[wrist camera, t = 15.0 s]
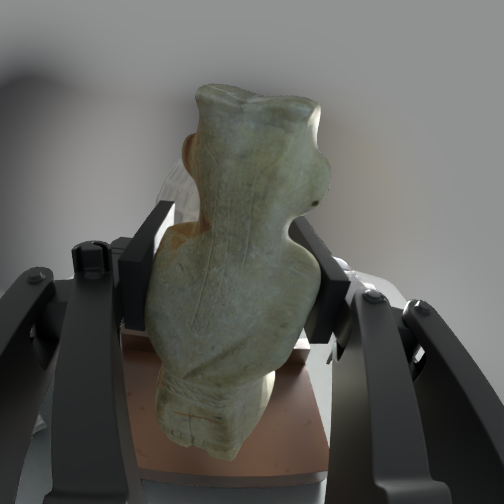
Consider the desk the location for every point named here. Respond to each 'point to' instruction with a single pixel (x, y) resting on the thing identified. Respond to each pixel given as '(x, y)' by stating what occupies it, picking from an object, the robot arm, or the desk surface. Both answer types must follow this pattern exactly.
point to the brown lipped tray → (255, 445)
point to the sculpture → (235, 266)
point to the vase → (181, 194)
